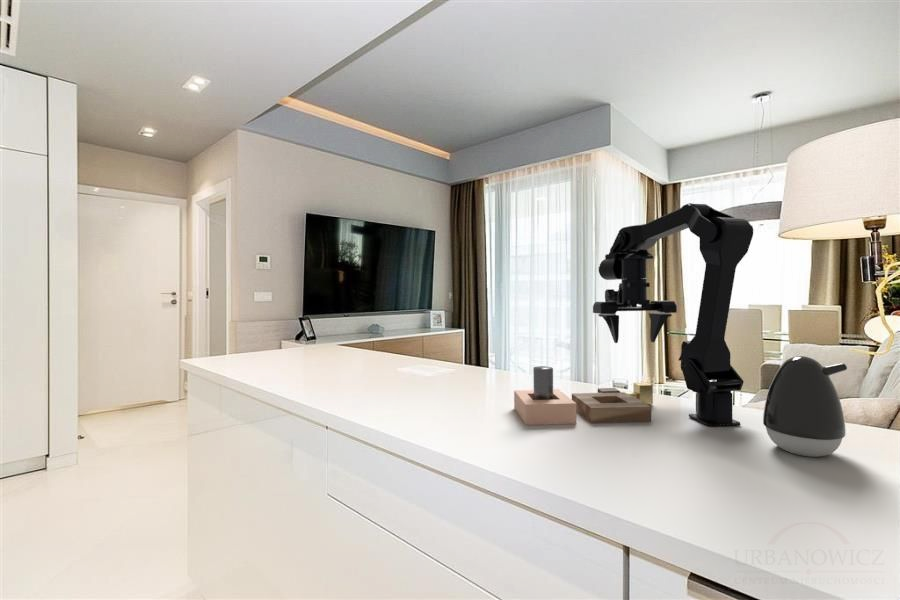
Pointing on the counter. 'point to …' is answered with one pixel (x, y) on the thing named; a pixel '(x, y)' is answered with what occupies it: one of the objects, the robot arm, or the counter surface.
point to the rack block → (544, 408)
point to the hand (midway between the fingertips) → (634, 342)
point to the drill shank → (543, 383)
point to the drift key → (643, 392)
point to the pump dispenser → (805, 408)
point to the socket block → (611, 407)
